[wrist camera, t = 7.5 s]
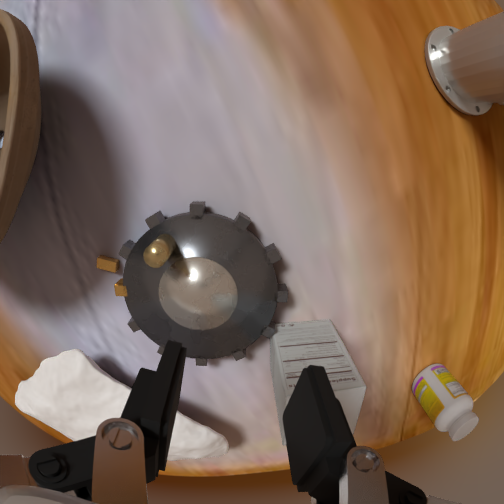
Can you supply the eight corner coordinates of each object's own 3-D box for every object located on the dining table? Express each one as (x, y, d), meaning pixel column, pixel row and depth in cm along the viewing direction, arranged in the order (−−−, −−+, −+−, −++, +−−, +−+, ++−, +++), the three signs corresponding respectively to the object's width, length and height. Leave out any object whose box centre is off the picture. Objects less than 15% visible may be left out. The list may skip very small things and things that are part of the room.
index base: (228, 267, 32) (227, 271, 31) (219, 308, 33) (218, 313, 32) (102, 239, 30) (98, 241, 29) (99, 279, 32) (96, 283, 31)
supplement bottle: (414, 399, 40) (447, 451, 28) (406, 379, 38) (443, 436, 26) (446, 376, 39) (484, 424, 27) (440, 354, 37) (484, 404, 25)
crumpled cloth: (1, 316, 31) (-30, 354, 23) (233, 353, 33) (230, 418, 25) (51, 410, 41) (35, 445, 33) (228, 444, 43) (227, 489, 35)
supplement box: (326, 365, 36) (353, 437, 24) (269, 370, 36) (280, 448, 24) (331, 317, 34) (369, 386, 22) (269, 321, 34) (283, 397, 22)
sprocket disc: (233, 168, 28) (232, 169, 22) (311, 315, 33) (324, 344, 27) (92, 254, 30) (66, 272, 24) (178, 374, 35) (170, 406, 29)
